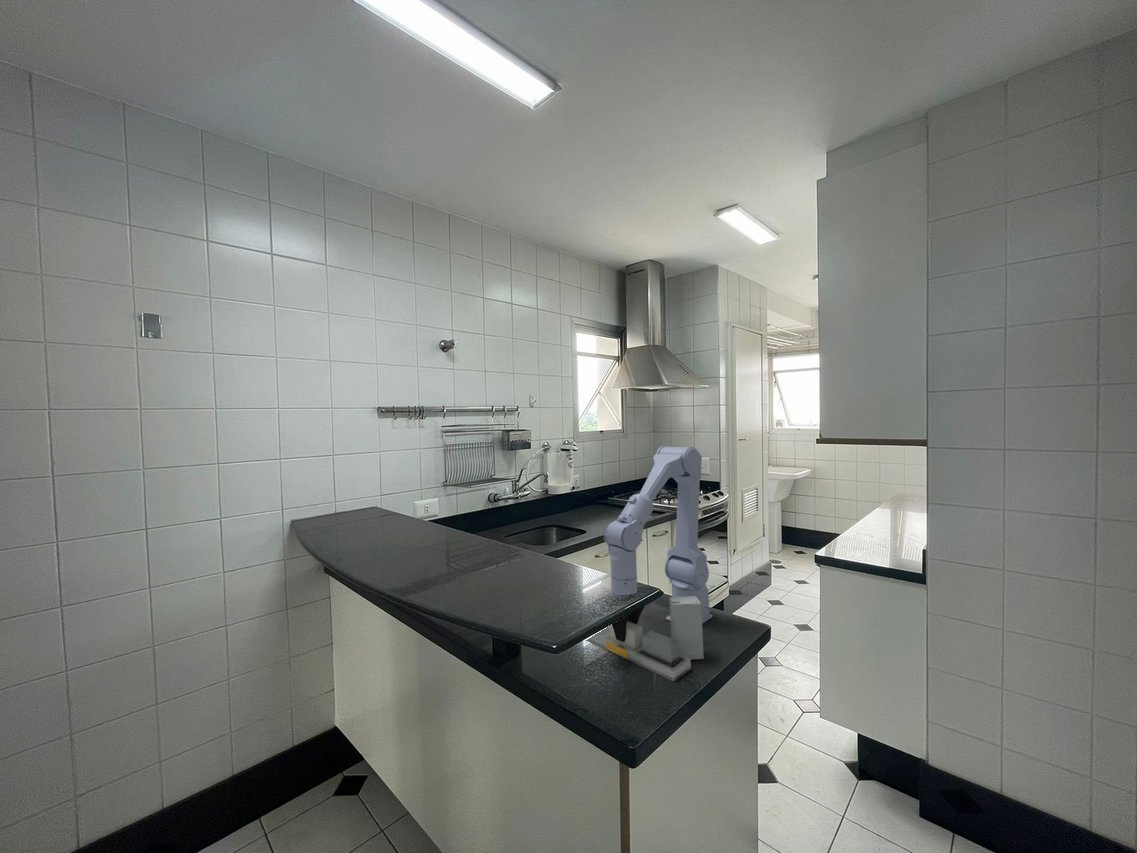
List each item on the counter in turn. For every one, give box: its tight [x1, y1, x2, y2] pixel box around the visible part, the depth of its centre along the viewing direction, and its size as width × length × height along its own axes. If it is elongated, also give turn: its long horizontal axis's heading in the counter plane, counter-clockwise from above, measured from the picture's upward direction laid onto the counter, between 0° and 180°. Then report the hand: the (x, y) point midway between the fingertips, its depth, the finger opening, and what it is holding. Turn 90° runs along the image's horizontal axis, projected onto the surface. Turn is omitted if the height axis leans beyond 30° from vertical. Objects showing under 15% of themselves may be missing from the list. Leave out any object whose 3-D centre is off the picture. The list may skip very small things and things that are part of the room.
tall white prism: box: [610, 621, 644, 651], centre depth 97 cm, size 3×7×5 cm, turn 43°
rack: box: [586, 626, 692, 682], centre depth 97 cm, size 6×29×6 cm, turn 43°
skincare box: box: [668, 596, 705, 660], centre depth 93 cm, size 6×4×12 cm
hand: (625, 637), depth 97 cm, fingers closed on tall white prism, 3 cm apart
